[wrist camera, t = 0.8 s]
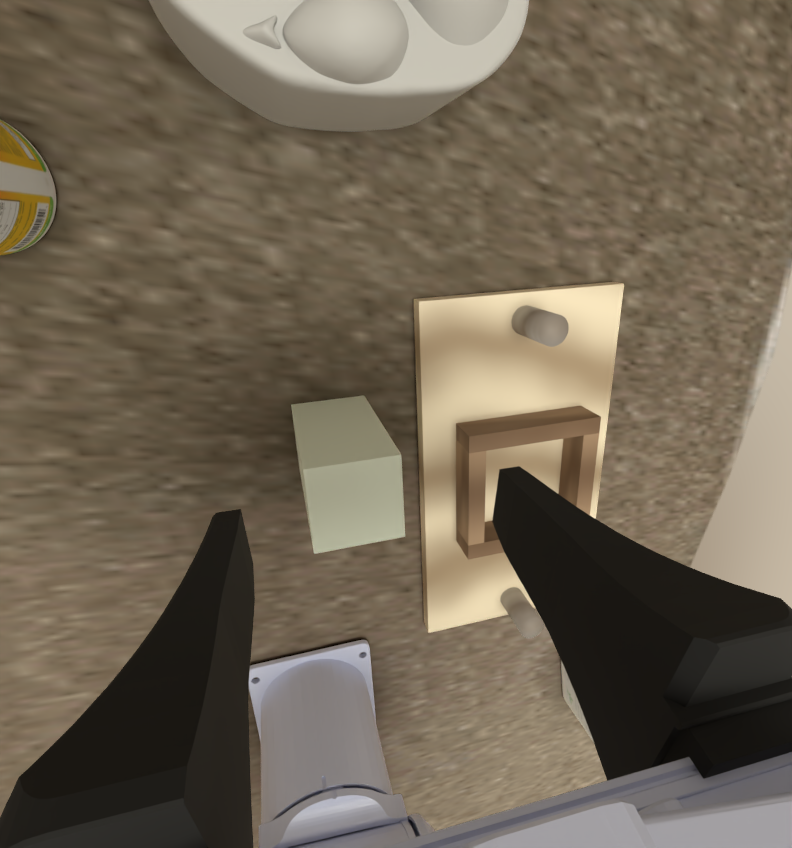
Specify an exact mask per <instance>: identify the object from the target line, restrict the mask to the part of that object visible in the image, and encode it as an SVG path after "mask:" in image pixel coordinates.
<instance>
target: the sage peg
mask: <svg viewBox="0 0 792 848" xmlns="http://www.w3.org/2000/svg"><path fill="white" fill-rule="evenodd" d="M291 408H292V416H293V423H294V431H295V438H296V446H297V454H298V461H299V469H300V475H301V481H302V487H303V492H304V498H305V504H306V510H307V516H308V522H309V527H310V533H311V539H312V545H313V551H314V554H316V553H322V552H327V551H332V550H337V549H343V548H348V547H353V546H359V545H364V544H369V543H374V542H380V541H385V540H390V539H396V538H401V537H405V523H404V502H403V480H402V459H401V453H400V452H399V450H398V449H397V447H396V445H395V444H394V442H393V441H392V439H391V437H390V436H389V434H388V433H387V431H386V429H385V428H384V426H383V425H382V423H381V421H380V420H379V418H378V417H377V415H376V414H375V412H374V410H373V409H372V407H371V406H370V404H369V402H368V401H367V399H366V398H365V396H356V397H348V398H340V399H332V400H324V401H316V402H308V403H300V404H292V405H291Z"/></svg>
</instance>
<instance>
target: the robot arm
mask: <svg viewBox="0 0 792 848" xmlns="http://www.w3.org/2000/svg"><path fill="white" fill-rule="evenodd" d="M492 523H493V525H494V528H495V530H496V533H497V535H498V538H499V541H500V543H501V545H502V548H503V550H504V552H505V554H506V556H507V558H508V560H509V562H510V563H511V565H512V567H513V569H514V570H515V572H516V574H517V576H518V578H519V579H520V581H521V583H522V585H523V586H524V588H525V590H526V592H527V593H528V595H529V597H530V599H531V600H532V602H533V604H534V606H535V607H536V609H537V611H538V613H539V614H540V616H541V618H542V620H543V622H544V624H545V626H546V628H547V629H548V631H549V633H550V636H551V638H552V640H553V642H554V645H555V647H556V649H557V651H558V654H559V656H560V658H561V661H562V663H563V665H564V668H565V670H566V672H567V675H568V677H569V680H570V682H571V684H572V687H573V689H574V692H575V694H576V696H577V699H578V702H579V704H580V707H581V709H582V712H583V715H584V717H585V720H586V722H587V725H588V728H589V730H590V733H591V735H592V738H593V741H594V744H595V747H596V749H597V752H598V755H599V758H600V761H601V764H602V766H603V769H604V772H605V775H606V778H607V781H605V782H601V783H598V784H594V785H591V786H588V787H584V788H581V789H577V790H574V791H571V792H567V793H564V794H560V795H557V796H554V797H550V798H547V799H543V800H540V801H537V802H533V803H530V804H526V805H523V806H519V807H516V808H513V809H509V810H506V811H502V812H499V813H496V814H492V815H489V816H485V817H482V818H479V819H475V820H472V821H468V822H465V823H462V824H458V825H455V826H451V827H448V828H445V829H441V830H438V831H435V830H434V829H433V827H432V826H431V825H430V824H429V823H427V822H426V820H425V819H424V818H423V816H421V815H420V814H418V813H416V814H412V815H409V816H407V813H406V809H405V805H404V801H403V797H402V794H394V795H393V792H392V788H391V784H390V780H389V776H388V771H387V767H386V763H385V759H384V755H383V750H382V746H381V742H380V738H379V734H378V729H377V725H376V715H375V704H374V692H373V681H372V670H371V658H370V647H369V643H368V642H367V641H366V640H358V641H354V642H350V643H345V644H341V645H337V646H332V647H328V648H324V649H319V650H315V651H311V652H306V653H302V654H298V655H293V656H289V657H285V658H280V659H276V660H272V661H267V662H263V663H259V664H254V665H251V666H250V657H251V644H252V630H253V616H254V601H255V598H254V574H253V561H252V557H251V552H250V548H249V544H248V539H247V535H246V531H245V526H244V522H243V517H242V513H241V509H238V510H232V511H225V512H219V513H216V514H215V515H214V516H213V517H212V520H211V522H210V525H209V527H208V530H207V532H206V535H205V537H204V539H203V541H202V543H201V545H200V548H199V550H198V552H197V554H196V556H195V558H194V560H193V562H192V564H191V565H190V567H189V569H188V571H187V573H186V575H185V577H184V579H183V580H182V582H181V584H180V586H179V587H178V589H177V591H176V592H175V594H174V596H173V597H172V599H171V601H170V602H169V604H168V606H167V607H166V609H165V611H164V612H163V614H162V615H161V617H160V618H159V620H158V621H157V623H156V624H155V626H154V627H153V629H152V630H151V631H150V633H149V634H148V636H147V637H146V638H145V640H144V641H143V643H142V644H141V645H140V647H139V648H138V649H137V651H136V652H135V653H134V654H133V656H132V657H131V658H130V660H129V661H128V662H127V663H126V665H125V666H124V667H123V669H122V670H121V671H120V672H119V674H118V675H117V676H116V677H115V678H114V680H113V681H112V682H111V683H110V684H109V686H108V687H107V688H106V689H105V690H104V691H103V692H102V693H101V695H100V696H99V697H98V698H97V699H96V700H95V701H94V702H93V703H92V704H91V706H90V707H89V708H88V709H87V710H86V711H85V712H84V713H83V714H82V715H81V717H80V718H79V719H78V720H77V721H76V722H75V723H74V724H73V725H72V726H71V727H70V728H69V729H68V730H67V731H66V732H65V734H63V735H62V736H61V737H60V738H59V739H58V740H57V741H56V742H55V743H54V744H53V745H52V746H51V747H50V748H49V749H48V750H47V751H46V752H45V753H44V754H43V755H42V756H41V757H40V758H39V759H38V760H37V761H36V762H35V763H34V764H33V765H32V766H31V767H30V768H29V769H28V770H26V771H25V772H24V773H23V774H22V775H21V776H20V777H19V778H18V780H17V782H16V785H15V787H14V789H13V791H12V793H11V796H10V798H9V800H8V802H7V804H6V806H5V808H4V811H3V813H2V815H1V817H0V848H253V833H252V810H251V786H250V756H249V718H248V688H249V691H250V695H251V700H252V705H253V709H254V714H255V718H256V723H257V728H258V732H259V737H260V742H261V825H259V848H792V609H791V608H790V607H789V606H788V605H787V604H786V603H785V602H784V601H783V600H782V599H780V598H777V597H774V596H770V595H767V594H764V593H761V592H757V591H754V590H751V589H747V588H744V587H741V586H738V585H735V584H732V583H729V582H726V581H724V580H721V579H718V578H715V577H713V576H710V575H707V574H705V573H702V572H700V571H697V570H695V569H692V568H690V567H687V566H685V565H683V564H680V563H678V562H676V561H674V560H671V559H669V558H667V557H665V556H662V555H660V554H658V553H656V552H654V551H652V550H650V549H648V548H646V547H644V546H642V545H640V544H638V543H636V542H634V541H632V540H631V539H629V538H627V537H625V536H623V535H621V534H620V533H618V532H616V531H614V530H613V529H611V528H609V527H608V526H606V525H604V524H603V523H601V522H600V521H598V520H596V519H595V518H593V517H592V516H590V515H588V514H587V513H585V512H584V511H582V510H581V509H579V508H578V507H576V506H575V505H573V504H572V503H571V502H569V501H568V500H566V499H565V498H563V497H562V496H560V495H559V494H558V493H556V492H555V491H553V490H552V489H551V488H549V487H548V486H547V485H545V484H544V483H542V482H541V481H540V480H538V479H537V478H535V477H534V476H533V475H531V474H530V473H528V472H527V471H526V470H524V469H523V468H521V467H520V466H517V467H511V468H504V469H499V476H498V483H497V491H496V498H495V505H494V512H493V519H492ZM362 652H364V653H362ZM360 653H362V654H360ZM256 677H257V679H253V678H256Z"/></svg>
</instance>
